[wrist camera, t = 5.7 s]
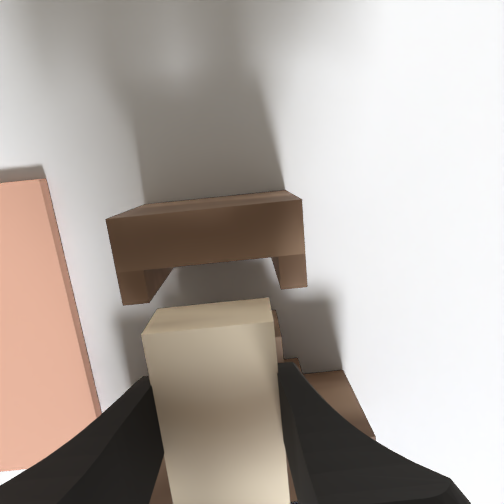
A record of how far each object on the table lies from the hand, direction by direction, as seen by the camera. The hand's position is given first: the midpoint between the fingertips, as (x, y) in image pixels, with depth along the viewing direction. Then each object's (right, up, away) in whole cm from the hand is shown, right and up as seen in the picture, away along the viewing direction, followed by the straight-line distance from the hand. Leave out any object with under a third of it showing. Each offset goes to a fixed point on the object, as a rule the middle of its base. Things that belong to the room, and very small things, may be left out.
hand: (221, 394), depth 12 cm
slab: (0, 0, +1) cm, 1 cm away
